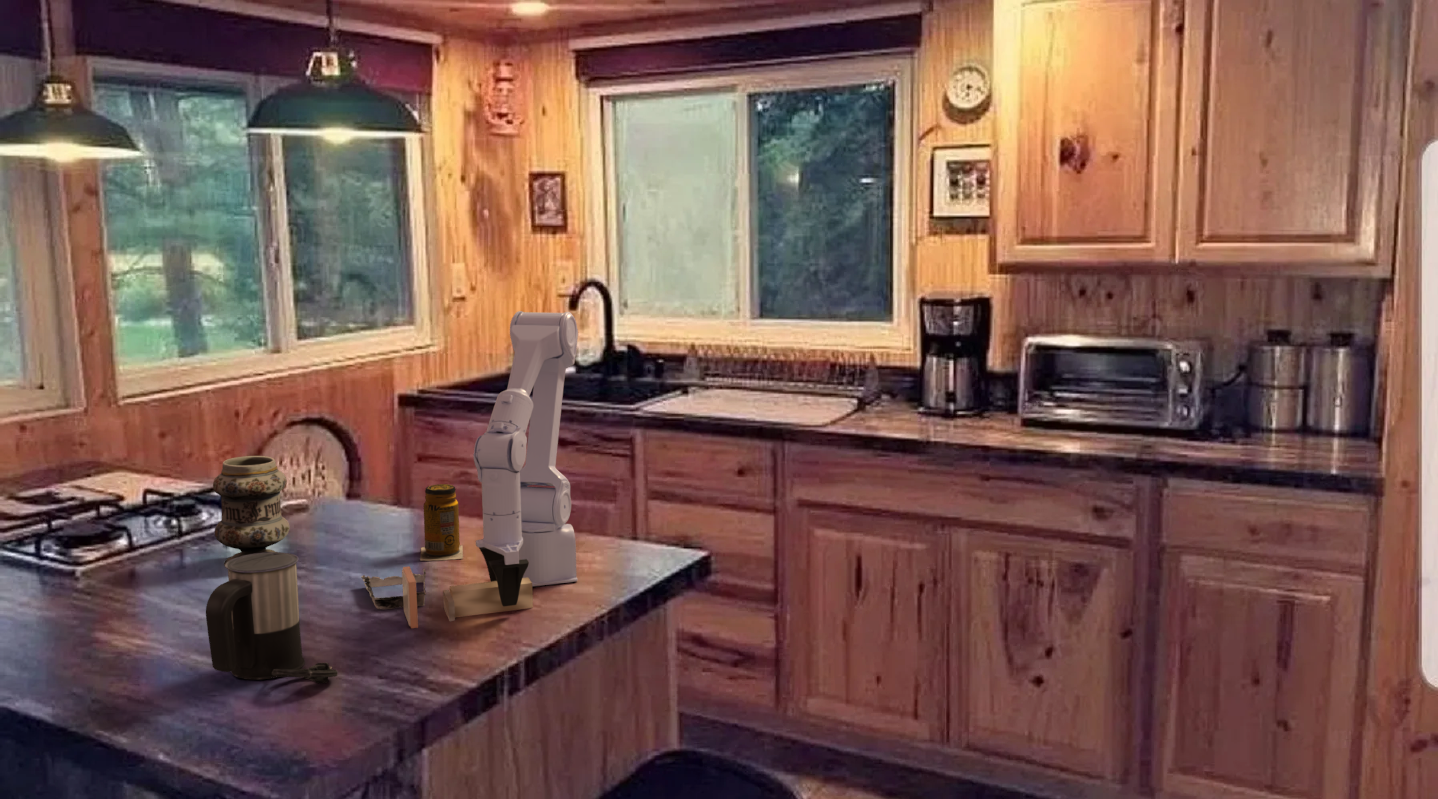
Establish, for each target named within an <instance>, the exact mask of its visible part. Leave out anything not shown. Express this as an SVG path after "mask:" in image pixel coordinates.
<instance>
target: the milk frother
mask: <svg viewBox="0 0 1438 799" xmlns="http://www.w3.org/2000/svg"><path fill="white" fill-rule="evenodd" d="M298 562H299V556H297V555H296V554H293V553H289V552H288V553H287V552H282V551H281V552H280V551H275V552H264V553H255V554H250V555H244V556H241V557H237V558H234V559H232V560H230V561H228V562H227V563H226V564H225V565H224V567H225V569H226V570H227V575H228V577H227V578H228V581H225V582H224V583H222V584H220V585H218V586H217V587H216V588H215V589H213V591H212V592H211V594H210V596H209V598H208V599H207V603H206V606H205V620H206V627H207V634H208V635H207V636H208V643H209V649H210V658H211V664H212V668H213V670H215V671H217V672H224V673H225V672H226V673H231V674H232V675H233V676H234V677H237V678H239V679H244V680H250V681H254V680H257V681H259V680H266V679H267V680H269V679H276V678H280V677H285V678H303V679H306V680H309V681H312V682H315V683H316V684H326V683H328V682H329V678H333V677H337V676H338V675H339V672H338V669H332V668H333V667H332V666H330V663H328V662H317V663H316V664H315V665H312V666H309V667H308V668H302V667H303V666H304V665H305V658H304V657H303V650H302V649H303V648H302V638H301V637H302V636H301V627H300V626H301V625H300V610H299V609H300V606H299V588H298V587H299V585H298V571H297V570H298V569H297V563H298Z"/></svg>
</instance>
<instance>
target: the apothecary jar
mask: <svg viewBox="0 0 1438 799" xmlns="http://www.w3.org/2000/svg"><path fill="white" fill-rule="evenodd" d="M287 482H288V480H287V476H286V475H285V474H284V472H282V471H281V470H280V469H278V466H277V463H276V459H275V458H273V457H271V456H267V455H265V456H264V455H248V456H236V457H232V458H228V459H225V460H224V461H223V462H222V469H221V472H220V473H219V474H218V475H216V477H215V478H214V479H213V482H212V489H213V491H214V493H216V494H217V495H219V496H220V498H221V500H220V502H221V520H220V521H219V522H218V523H217V525H216V526H215V529H214V537H215V539H216V540H217V541H218V543H220V544H222V545H223V546H226V547H229V548H232V549H235V550H240V551H239V552H237V553H235V554H233V555H232V556H230V557H228V558H226V559H225V560H224V561H223V565H224V566H225V564H226V563H227V562H228V561H230V560H232V559H234V558H237V557H241V556H244V555H250V554H255V553H264V552H276V551H275V550H273V549H268V547H271V546H274V545H276V544H278V543H280V542H281V541H282V540H284V539H285V538H286V537H287V535H288V533H289V532H290V529H291V528H290V527H291V526H290V523H289V521H288V520H287V519H286V518H285V517H284V516H282V507H281V492H282V491H283V490H284V488H285V487H286V486H287Z"/></svg>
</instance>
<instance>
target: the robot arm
mask: <svg viewBox="0 0 1438 799" xmlns="http://www.w3.org/2000/svg"><path fill="white" fill-rule="evenodd" d="M576 320H577V319H576V318H575V316H574V315H573V313H572V312H570V311H565V312H535V311H534V312H531V311H529V312H528V311H527V312H525V311H522V310H519V311H516V312H515V314H514V315H513V317H512V318H511V321H510V325H509V337H510V341H511V342H510V343H511V345H512V349H513V353H514V355H513V360H512V364H511V369H510V374H509V379H508V384H507V388H506V389H505V390H503V391H501V392H500V393H498V395H497V397H496V400H495V403H494V406H493V409H492V412H491V415H490V419H489V422H488V425H487V428H486V431H485V432H484V433H483V434H482V435H479V436H477V438H476V440H475V444H474V447H473V448H474V449H473V454H472V455H473V456H472V457H473V462H474V466H475V468H476V470H477V471H476V472H477V479H478V482H480V483H481V499H482V500H481V501H482V502H481V503H482V506H481V507H482V526H483V528H482V530H483V533H482V535H483V538H482V539H477V540H475V546H476V547H477V548H478V549H479V551H480V553H481V554H482V556H483V558H484V561H485V564H486V567H487V572H488V575H489V580H490V581H489V582H492V581H497V584H498V589H499V595H500V599H501V603H502V605H503V606H512V605H517V601H518V596H519V591H520V586H521V581H522V578H527V577H528V578H529V579H530V581H531V582H532V588H533V587H540V586H545V585H546V586H548V585H559V584H564V583H573V582H578V577H577V546H576V544H577V543H576V535H575V530H574V527H573V525H572V524H571V523H567V522H568V521H569V519H570V515H571V511H572V499H571V483H570V481H569V479H568V478H567V477H566V476H565V475H564V474H563V473H561V472H560V471H559V470H558V469H557V467H556V464H557V454H558V453H557V452H558V446H559V444H558V443H559V437H560V436H559V434H560V424H561V414H562V407H563V406H562V405H563V404H562V403H563V396H564V386H565V378H566V371H567V369H568V368H570V367H572V366H573V365H574V364H575V362H576V361H575V360H576V357H577V349H578V348H577V347H578V337H579V331H578V330H579V329H578V323H577V321H576ZM531 392H532V398H531V397H530V395H531ZM528 426H529V429H528ZM527 429H528V436H527V435H526V433H527ZM541 486H543V487H541Z"/></svg>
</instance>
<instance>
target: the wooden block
mask: <svg viewBox="0 0 1438 799" xmlns="http://www.w3.org/2000/svg"><path fill="white" fill-rule="evenodd" d="M442 594H443V595H442V596H443V597H442V598H443V610H444V612H445V614H446V616H447V619H448V622H453V621H454V622H455V621H456V618H461V617H468V616H469V617H470V616H477V615H486V614H492V613H493V614H494V613H502V612H509V611H511V612H512V611H517V610H527V609H533V608H534V606H533V605H534V602H533V600H534V598H533V597H534V596H533V594H534V593H533V587H532V582H531V581H530V579H529V578H528V577H527V578H522V581H521V586H520V591H519V596H518V601H517V605H512V606H503V605H502V603H501V599H500V595H499V589H498V584H497V581H492V582H491V581H484V582H476V583H467V584H459V585H458V584H457V585H450V586H449V589H445V590H442Z"/></svg>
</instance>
